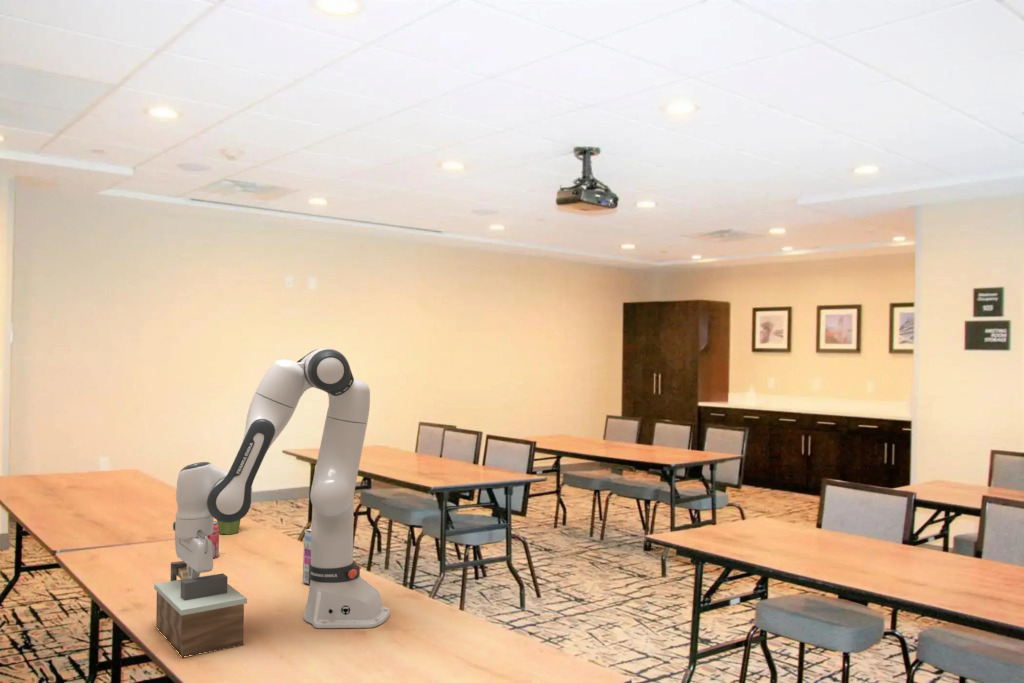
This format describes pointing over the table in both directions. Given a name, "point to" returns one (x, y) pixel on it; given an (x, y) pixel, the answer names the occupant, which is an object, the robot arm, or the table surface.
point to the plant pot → (228, 527)
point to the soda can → (215, 539)
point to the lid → (200, 594)
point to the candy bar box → (306, 555)
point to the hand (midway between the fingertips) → (193, 582)
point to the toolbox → (199, 625)
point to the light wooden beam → (182, 573)
